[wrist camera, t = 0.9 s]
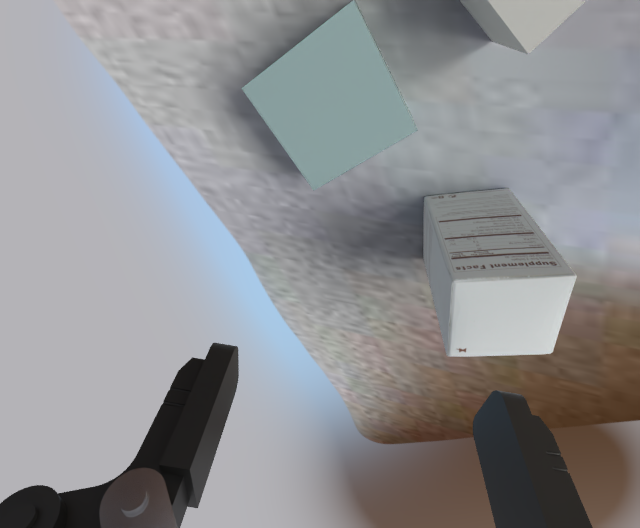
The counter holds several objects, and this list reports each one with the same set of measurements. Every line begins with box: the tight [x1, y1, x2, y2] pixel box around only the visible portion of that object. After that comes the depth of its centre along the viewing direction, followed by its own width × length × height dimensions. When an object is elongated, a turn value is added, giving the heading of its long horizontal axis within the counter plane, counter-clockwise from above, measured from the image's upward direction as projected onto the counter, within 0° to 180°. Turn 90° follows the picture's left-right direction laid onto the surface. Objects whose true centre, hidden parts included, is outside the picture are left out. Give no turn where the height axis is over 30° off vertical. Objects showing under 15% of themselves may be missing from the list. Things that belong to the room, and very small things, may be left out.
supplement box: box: [423, 188, 577, 357], centre depth 29 cm, size 7×7×13 cm
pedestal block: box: [241, 0, 417, 190], centre depth 27 cm, size 9×9×4 cm
